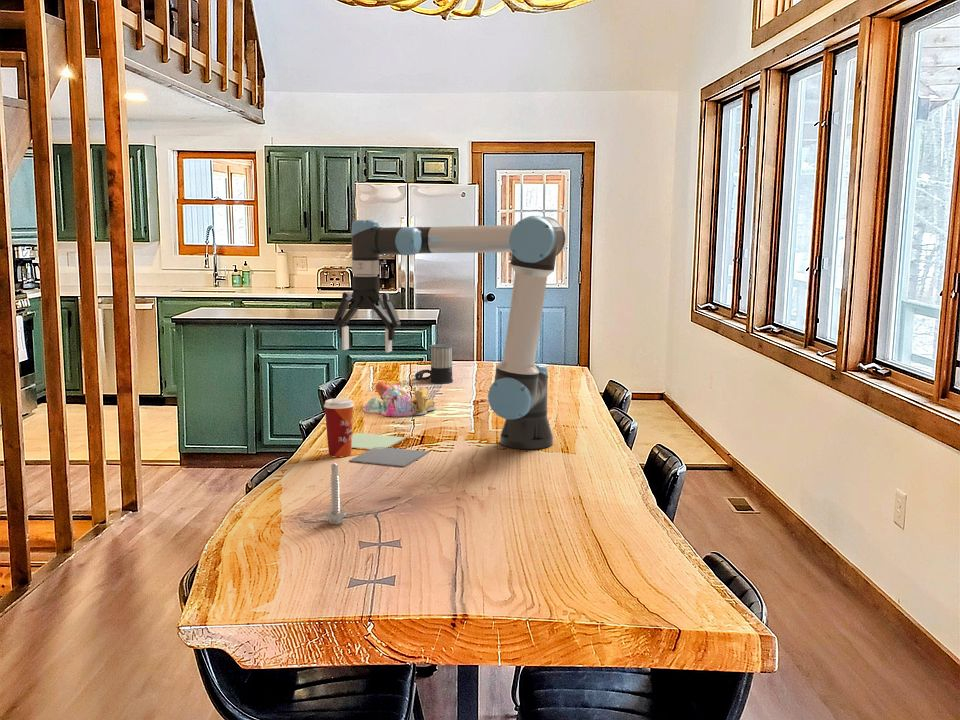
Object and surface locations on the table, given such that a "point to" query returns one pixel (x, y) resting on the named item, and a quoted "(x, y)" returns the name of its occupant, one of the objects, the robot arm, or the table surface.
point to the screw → (335, 499)
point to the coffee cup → (339, 426)
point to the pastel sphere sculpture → (399, 401)
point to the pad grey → (390, 456)
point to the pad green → (374, 441)
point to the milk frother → (439, 364)
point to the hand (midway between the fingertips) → (366, 350)
